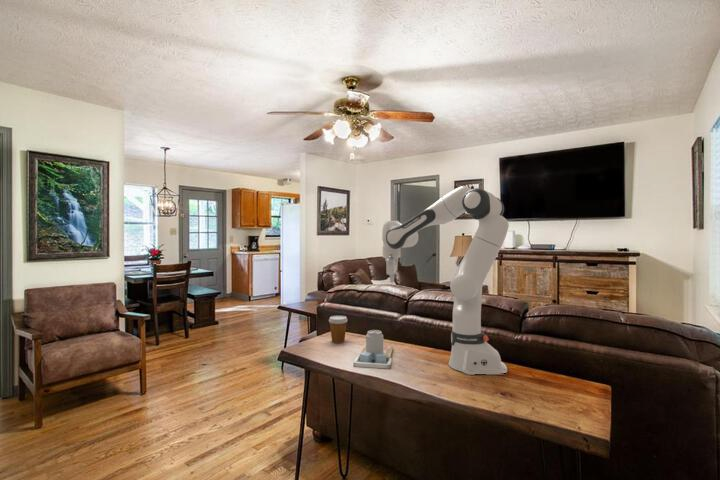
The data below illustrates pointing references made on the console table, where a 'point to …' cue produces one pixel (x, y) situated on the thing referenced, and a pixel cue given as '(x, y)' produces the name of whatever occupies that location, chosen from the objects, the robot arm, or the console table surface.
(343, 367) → the console table surface
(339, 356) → the console table surface
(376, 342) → the can
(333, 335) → the disposable coffee cup
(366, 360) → the light blue cubic block
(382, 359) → the light blue boxy piece
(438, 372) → the console table surface
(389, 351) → the slot rails
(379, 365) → the white u-shaped frame
